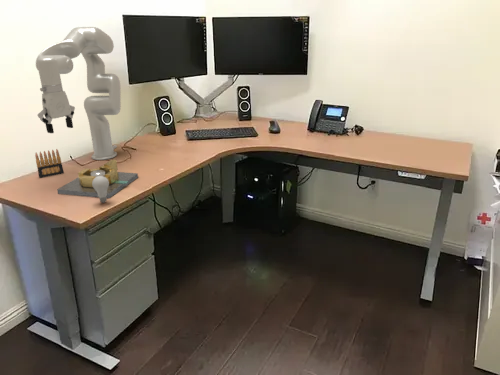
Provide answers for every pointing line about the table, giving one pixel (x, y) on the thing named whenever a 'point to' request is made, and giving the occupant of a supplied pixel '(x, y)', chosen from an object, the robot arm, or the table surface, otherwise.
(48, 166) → the ammunition clip
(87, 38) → the robot arm
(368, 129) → the table surface
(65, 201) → the table surface
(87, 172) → the ring nut
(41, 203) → the table surface
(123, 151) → the table surface
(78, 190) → the housing
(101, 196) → the lightbulb
